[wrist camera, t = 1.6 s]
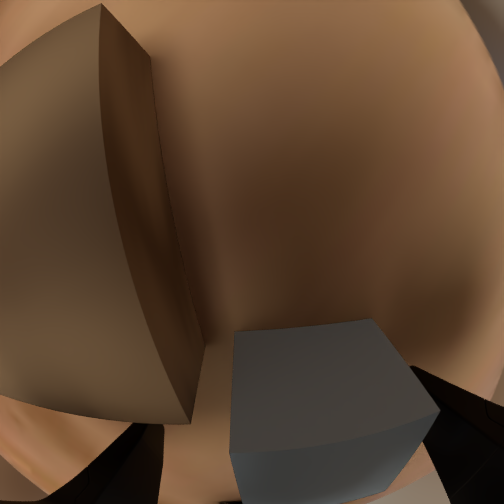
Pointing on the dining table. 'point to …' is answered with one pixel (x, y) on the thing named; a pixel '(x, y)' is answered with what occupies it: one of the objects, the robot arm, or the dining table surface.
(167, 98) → the dining table surface
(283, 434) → the cube
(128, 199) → the walnut block
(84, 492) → the robot arm
